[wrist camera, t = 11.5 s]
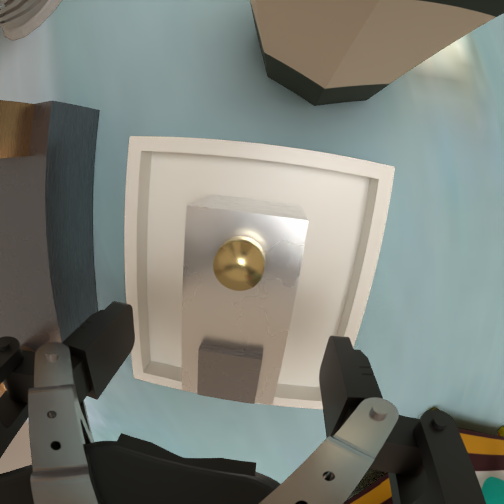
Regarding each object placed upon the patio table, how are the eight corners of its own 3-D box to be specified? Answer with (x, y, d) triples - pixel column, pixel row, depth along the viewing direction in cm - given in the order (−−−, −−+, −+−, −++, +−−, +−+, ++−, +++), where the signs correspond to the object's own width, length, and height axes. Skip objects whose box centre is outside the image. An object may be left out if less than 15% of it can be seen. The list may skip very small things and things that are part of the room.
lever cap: (210, 194, 17) (179, 208, 11) (300, 205, 16) (311, 225, 11) (200, 346, 20) (177, 401, 14) (274, 358, 19) (271, 417, 14)
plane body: (24, 119, 17) (-63, 119, 8) (99, 110, 17) (-1, 93, 8) (40, 341, 23) (-17, 392, 14) (106, 365, 22) (52, 436, 14)
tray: (148, 138, 17) (129, 136, 15) (380, 166, 16) (395, 167, 14) (146, 358, 22) (134, 377, 19) (327, 387, 21) (330, 409, 18)
